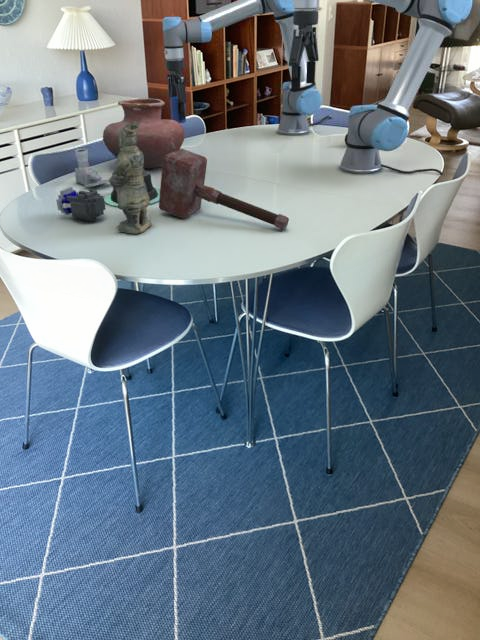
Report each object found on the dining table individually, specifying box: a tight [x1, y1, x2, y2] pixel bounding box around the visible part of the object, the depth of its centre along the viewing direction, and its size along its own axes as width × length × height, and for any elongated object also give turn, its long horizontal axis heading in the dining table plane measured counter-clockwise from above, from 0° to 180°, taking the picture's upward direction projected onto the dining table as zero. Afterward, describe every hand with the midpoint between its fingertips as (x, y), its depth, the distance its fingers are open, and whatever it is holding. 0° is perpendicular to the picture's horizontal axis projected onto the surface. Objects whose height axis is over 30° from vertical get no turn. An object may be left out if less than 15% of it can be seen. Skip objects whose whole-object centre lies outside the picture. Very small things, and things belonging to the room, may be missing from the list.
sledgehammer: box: [158, 148, 290, 231], centre depth 163 cm, size 17×10×40 cm
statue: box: [108, 121, 153, 235], centre depth 154 cm, size 11×9×30 cm
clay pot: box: [102, 98, 186, 169], centre depth 213 cm, size 30×30×25 cm
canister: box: [169, 96, 187, 124], centre depth 238 cm, size 6×6×10 cm
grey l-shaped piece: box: [74, 148, 110, 188], centre depth 197 cm, size 9×12×15 cm
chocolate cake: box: [103, 168, 160, 207], centre depth 186 cm, size 15×19×20 cm
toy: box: [56, 186, 107, 222], centre depth 168 cm, size 9×9×15 cm
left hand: (178, 118), depth 239 cm, fingers closed on canister, 6 cm apart
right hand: (303, 86), depth 177 cm, fingers open, 13 cm apart
